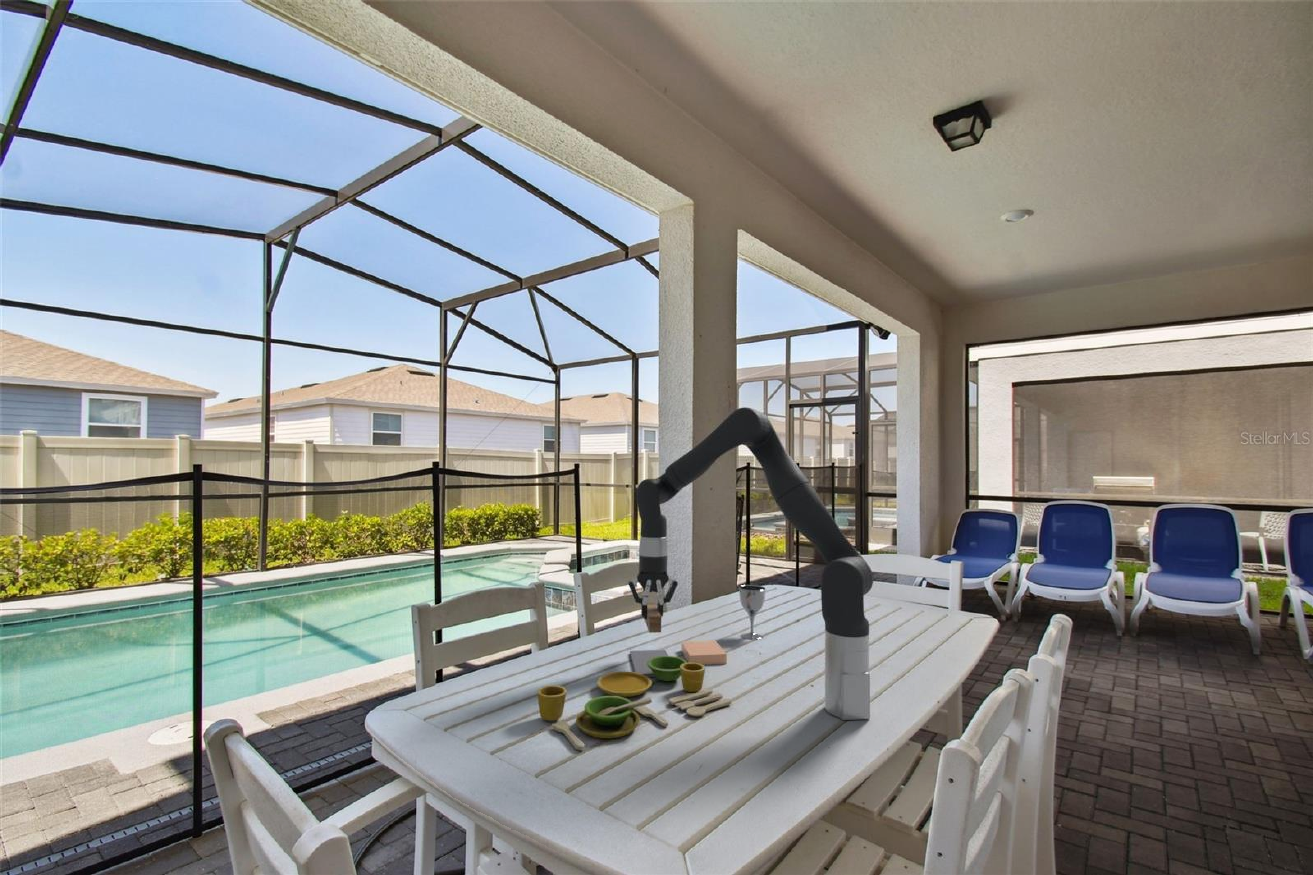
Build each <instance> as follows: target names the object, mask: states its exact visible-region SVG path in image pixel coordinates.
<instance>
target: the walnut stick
mask: <svg viewBox="0 0 1313 875" xmlns="http://www.w3.org/2000/svg"><path fill="white" fill-rule="evenodd" d="M643 619H644V618H643ZM644 623H645V624H646V627H647V630H648V632H649V633H651V634H652V633H653V634H654V633H662V617H661V615H660V613H659V611H658V609H657V604H656V603H655V602H647V619H644Z"/></svg>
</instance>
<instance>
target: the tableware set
mask: <svg viewBox="0 0 1313 875" xmlns="http://www.w3.org/2000/svg"><path fill="white" fill-rule="evenodd" d="M647 665H648V667H649V668H650V669H651V670H652V672H653V674H654V676H655V677H654V678H655V679H658V680H659V681H664V682H673V681H676V680H678V679H680V677H681V686H682V689H683V690H685V691H686V692H690V693H685V694H684V693H683V694H681V695H678V696H674V697H670V698H669V700H668V702H669V704H670V705H671V706H674V705H675V706H676V707H677V708H679V709H680V710H683V711H686V714H687V715H689V716H691V717H702V716H704V715H705V714H706V713H707V712H708V711H713V710H715V709H719V708H722V707H725V706H728V705H732V699H731V698H729V697H725V698H723V697H724V696H723V693H720V692H719V693H714V692H713V689H711V688H708V689H703V684H704V678H705V673H706V666H705V665H702V664H699V663H693V662H689V663H688V661H687V660H686V659H683V658H682V657H677V656H672V655H668V656H659V657H654V658H652V659H650V660H649V661H648V662H647ZM652 681H653V680H651V677H647V676H645V675H643V674H640V673H636V672H635V671H614V672H609V673H605V674H603V675H601V676H600V677H599V678H598V679H597V681H596V683H597V687H598V688H599V689H600V690H601V691H602V692H604V693H606V694H607V695H604V696H603V695H602V696H598V697H595V698H591V699H590V700H588V701H587V702H586V703H585V705H584V710H583V711H582V710H581V712H579V714H578V715H577V716H576V717H575V718H576V719H575V723H576V725H577V727H578V728H579V729H581V731H582V732H583V733H585V734H586V735H588V736H591V737H592V738H593V737H594V738H598V739H599V738H600V739H614V738H621V737H624V736H626V735H628V734H630V733H632V732H633V731H634V730H635V729H637V727H638V726H639V724H640V721H641V719H640V715H639V714H641V715H642V716H644V717H646V718H652V720H654V721H655V722H656V723H658V725H660V726H662V727H668V726H669V721H668V720H667V719H665V718H664V717H662V716H661V715H659V714H658V713H656V712H655V711H654V710H652V709H651V708H649V707H648V706H647V705H650V704H651V703H653V700H652V697H645V698H642V699H639V700H636V701H631V700H630V699H628V698H627V697H634V696H639V695H641V694H644V693H645V692H647V691H648V690H649V689H650V687H651V686H652V684H653V682H652ZM702 689H703V690H702ZM567 692H568V691H567V688H565V687H564V686H561V685H552V684H551V685H545V686H541V688H538V690H537V692H536V695H537V700H538V701H537V702H538V707H539V708H538V710H539V715H540V718H541V719H542V720H543V721H544V720H545V721H557V720H559V719H560V718H562V716H563V714H564V708H565V703H566V697H567ZM713 693H714V694H713ZM710 702H711V703H710ZM706 703H708V704H707V705H703V706H698V705H701V704H706ZM638 713H639V714H638ZM551 726H552V728H553V729H554V730H555V731H556V732H559V733H562V734H563V735H565V737H566V738H567V739H568V741H569V742H570V743H571V745H572V746H573V748H575V750H578V751H584V750H585V743H584V742H583V741H582V740H581V739H580V738H578V737H577V735H575V734H574V733H573V732H572V731H571V730H570V728H571V727H570V724H569V723H568V722H566V721H564V720H561V721H560V722H559V721H558V722H557V723H555V722H554V723H552V724H551Z"/></svg>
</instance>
